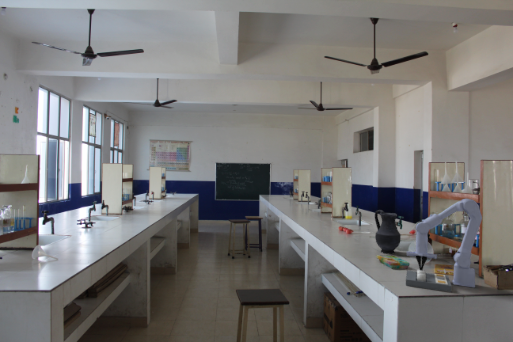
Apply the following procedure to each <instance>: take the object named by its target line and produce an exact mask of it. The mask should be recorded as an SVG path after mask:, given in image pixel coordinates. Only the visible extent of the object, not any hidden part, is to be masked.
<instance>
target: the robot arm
mask: <svg viewBox="0 0 513 342" xmlns="http://www.w3.org/2000/svg"><path fill="white" fill-rule="evenodd" d="M456 212H465V213H466V214H467V216H468V217H469V220H468V224H467V226H466V230H465V232H464V235H463V238H462V241H461V244H460V246H459V248H458V250H457V252H455V254H454V255H453V261H454V262H455V263H454V264H453V279H452V280H451V282H452V284H453V286H462V287H469V288H476V285H475V284H476V271H475V268H473V267H471V264H472V261H471V257H472V250H473V247H474V243H475V241H476V238H477V234H478V232H479V229H480V226H481V223H482V220H483V215H482V212H481V210H480V206H479V204H478V203H477V202H476V201H475V200H474V199H472V198H471V199H470V198H463V199H461V200H458V201H457V202H454V203H453V204H452V205H450V206H448V207H447V208H446V209H444V210H442V211H441V212H440V213H433V214H432V213H430V214H429V216H428V217H427V218H425V219H421V222H420V221H419V222H418V223H417V224H416V225H415V230H416V236H415V251H407V250H406V256H407V257H408V256H410V257H415V259H416V261H417V263H418V268H419V269H420V270H422V271H423V270H424V266H425V264H426V262H427V260H428V259H435V260H438V259H437V257H438V255H437V254H436V253H429V251H428V245H429V244H428V243H429V242H428V241H429V239H428V238H429V237H428V233H429V231H430V230H432V229H434V228H436V227H437V226H439V225H440V224H442V223H443V219H446V218H447V217H449V216H452V214H453V215H454V214H455V213H456Z"/></svg>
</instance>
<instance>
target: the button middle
mask: <svg viewBox="0 0 513 342" xmlns="http://www.w3.org/2000/svg"><path fill="white" fill-rule="evenodd" d="M416 272H417V273H423V274H426V273H427V271H426V270H425V271H422V270H418V269H416Z"/></svg>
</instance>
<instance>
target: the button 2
mask: <svg viewBox="0 0 513 342" xmlns="http://www.w3.org/2000/svg"><path fill="white" fill-rule="evenodd" d="M417 281H424V282H426V274H423V273H417Z"/></svg>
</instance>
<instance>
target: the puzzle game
mask: <svg viewBox="0 0 513 342" xmlns="http://www.w3.org/2000/svg"><path fill="white" fill-rule="evenodd" d="M375 258H376V259H378V261H379V262H380V263H381V264H383V266H384V265H385V266H386V267H388V268H390V269H393V270H394V269H406V270H407V269H408V268H409V267H410V265H411V264H410V262H409V261H407V260H404V259H402V258H400V257H397V256H395V255H389V254H388V255H379V254H377V255H375Z"/></svg>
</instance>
